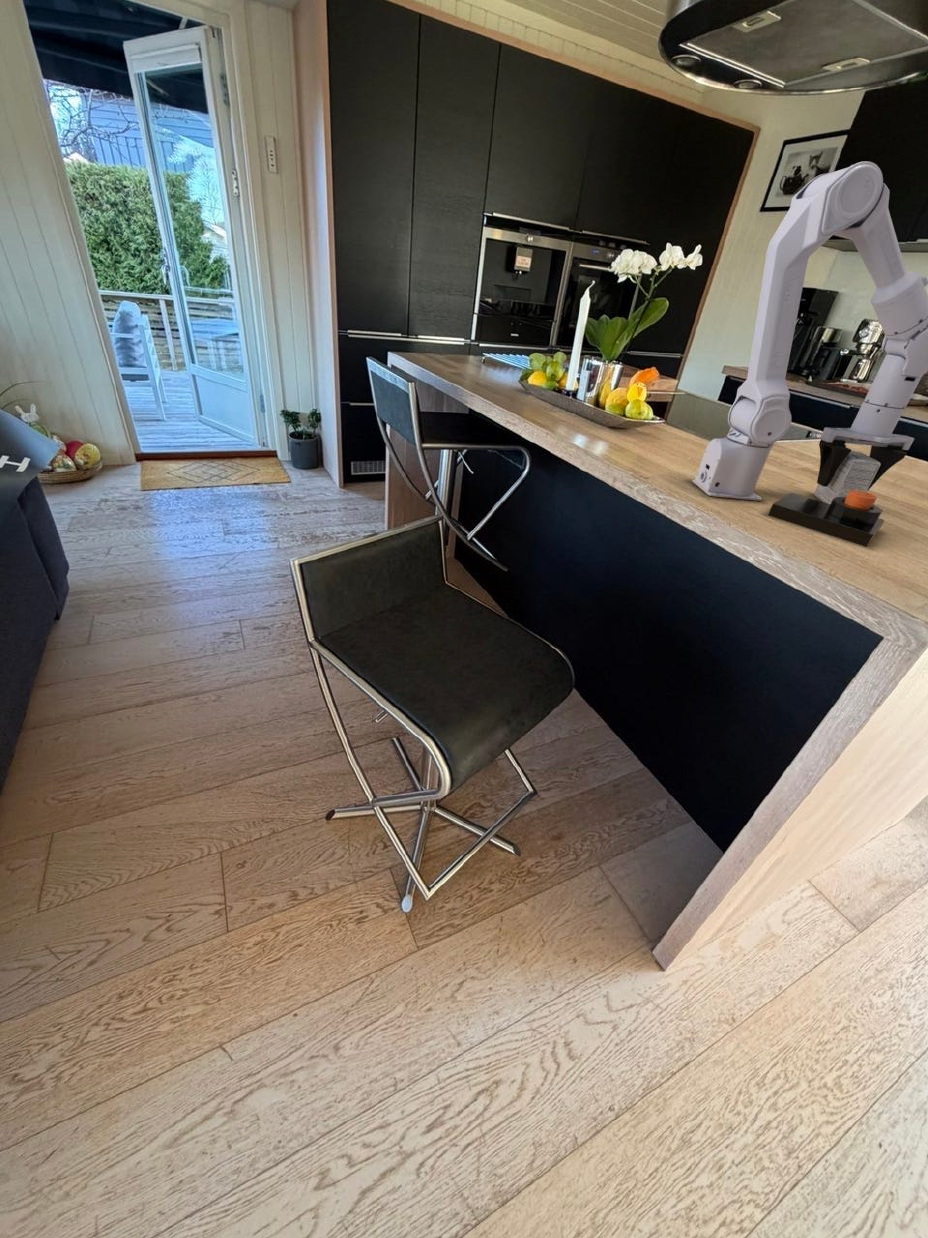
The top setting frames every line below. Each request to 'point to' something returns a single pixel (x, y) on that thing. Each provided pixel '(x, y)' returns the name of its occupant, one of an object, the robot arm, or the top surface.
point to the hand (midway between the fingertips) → (842, 486)
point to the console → (830, 517)
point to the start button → (860, 499)
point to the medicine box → (849, 477)
